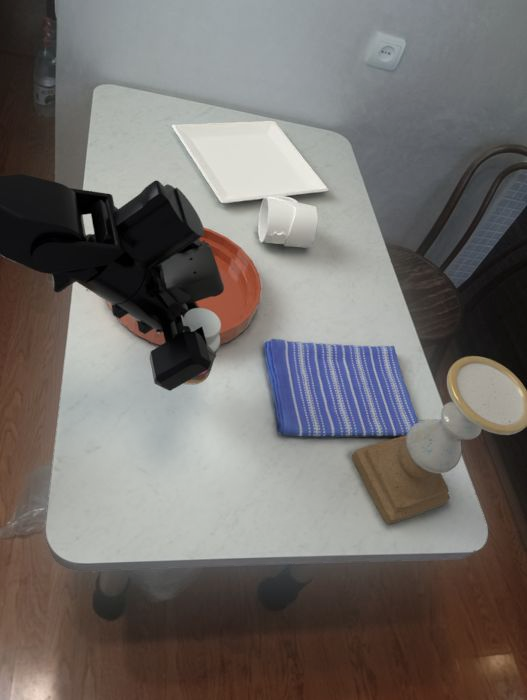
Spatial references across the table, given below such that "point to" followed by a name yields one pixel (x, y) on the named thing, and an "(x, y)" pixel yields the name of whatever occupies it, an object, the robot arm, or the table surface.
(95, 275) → the robot arm
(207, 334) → the pill bottle
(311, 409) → the dish towel
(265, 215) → the mug
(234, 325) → the bowl
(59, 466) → the table surface
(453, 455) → the candle holder
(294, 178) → the plate
